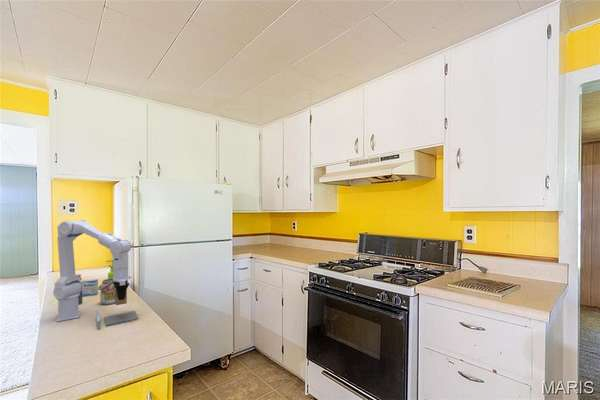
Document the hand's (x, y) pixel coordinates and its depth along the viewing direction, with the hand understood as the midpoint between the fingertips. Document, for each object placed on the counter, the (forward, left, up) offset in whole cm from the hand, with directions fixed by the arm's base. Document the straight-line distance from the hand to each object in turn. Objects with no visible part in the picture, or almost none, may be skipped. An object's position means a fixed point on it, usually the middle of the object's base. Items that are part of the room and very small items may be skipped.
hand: (121, 298), depth 129 cm
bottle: (-40, -17, -9) cm, 44 cm away
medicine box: (-56, -11, -9) cm, 58 cm away
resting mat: (0, 0, -9) cm, 9 cm away
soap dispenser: (-46, 0, -9) cm, 47 cm away
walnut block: (0, 0, -2) cm, 2 cm away
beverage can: (-31, -3, -9) cm, 32 cm away
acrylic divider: (0, -8, -9) cm, 12 cm away
